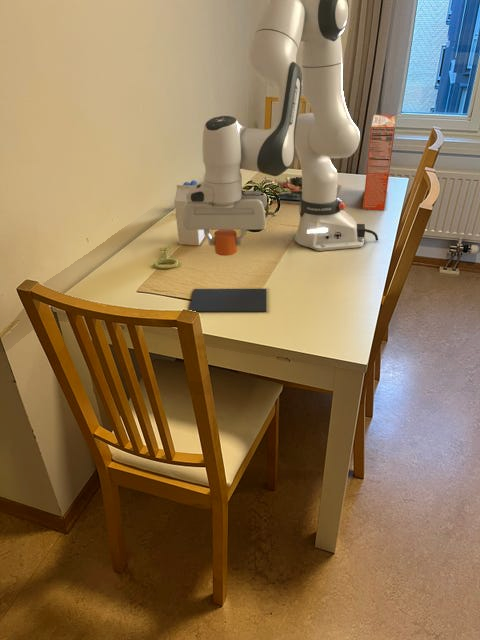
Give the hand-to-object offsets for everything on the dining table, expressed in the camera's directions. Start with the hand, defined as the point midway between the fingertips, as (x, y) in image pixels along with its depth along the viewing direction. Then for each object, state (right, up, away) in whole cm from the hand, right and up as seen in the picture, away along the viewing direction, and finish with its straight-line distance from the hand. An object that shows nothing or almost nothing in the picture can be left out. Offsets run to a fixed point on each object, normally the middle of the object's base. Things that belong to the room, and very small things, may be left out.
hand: (225, 244), depth 126 cm
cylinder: (0, -2, +1) cm, 2 cm away
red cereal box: (+58, +29, +74) cm, 98 cm away
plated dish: (+26, +35, +85) cm, 95 cm away
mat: (+1, -14, +8) cm, 16 cm away
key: (-19, -1, +30) cm, 36 cm away
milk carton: (-13, +8, +43) cm, 46 cm away
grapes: (-14, +24, +70) cm, 75 cm away
